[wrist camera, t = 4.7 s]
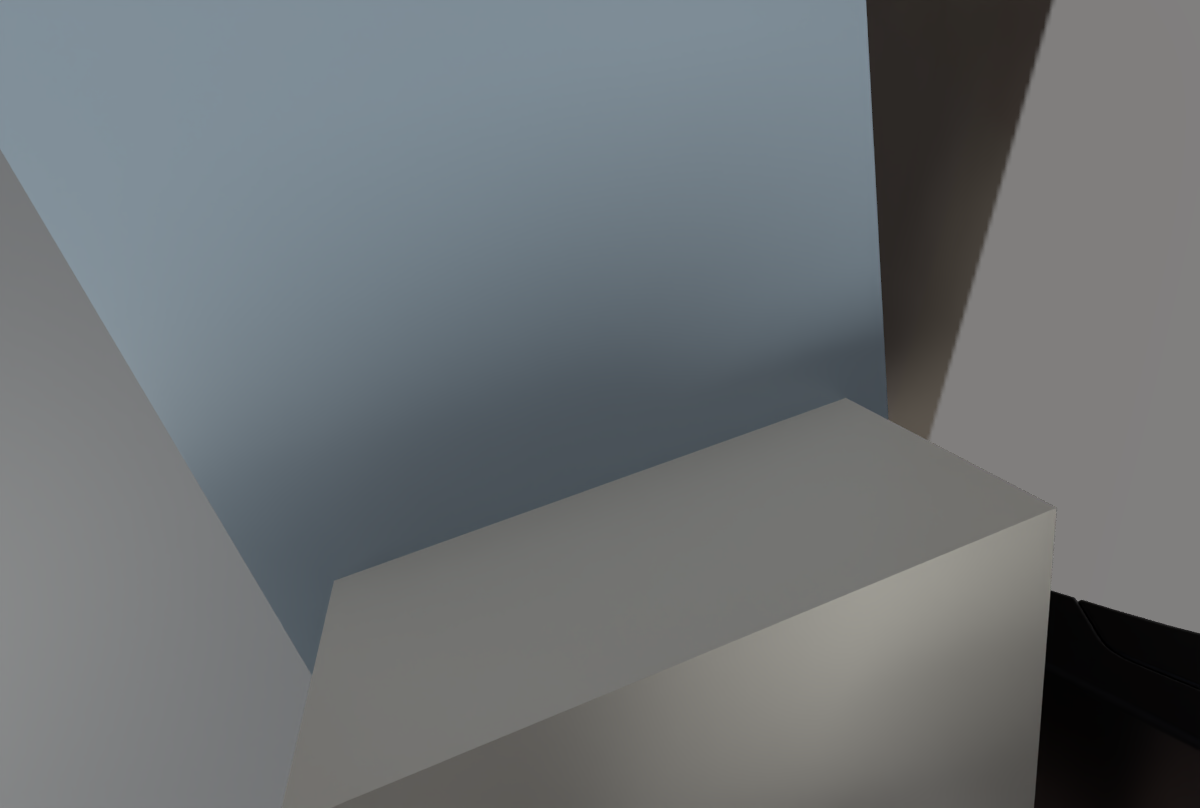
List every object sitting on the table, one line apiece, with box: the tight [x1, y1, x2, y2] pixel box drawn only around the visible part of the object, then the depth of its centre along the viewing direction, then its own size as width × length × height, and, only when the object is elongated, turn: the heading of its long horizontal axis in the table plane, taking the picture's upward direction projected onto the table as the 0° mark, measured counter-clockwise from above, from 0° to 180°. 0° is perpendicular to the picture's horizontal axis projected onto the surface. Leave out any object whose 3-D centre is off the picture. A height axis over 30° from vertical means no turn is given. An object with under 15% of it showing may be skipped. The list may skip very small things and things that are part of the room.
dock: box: [0, 149, 312, 808], centre depth 16 cm, size 18×10×4 cm, turn 15°
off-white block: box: [282, 398, 1057, 808], centre depth 5 cm, size 4×5×2 cm
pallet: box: [0, 0, 888, 675], centre depth 9 cm, size 16×6×4 cm, turn 14°
